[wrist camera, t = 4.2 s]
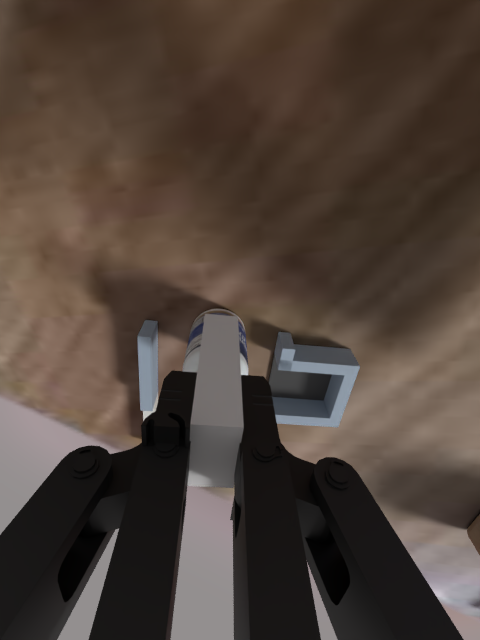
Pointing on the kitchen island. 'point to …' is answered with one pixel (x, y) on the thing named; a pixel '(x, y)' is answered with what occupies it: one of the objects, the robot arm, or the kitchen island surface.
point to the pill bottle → (196, 337)
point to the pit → (298, 384)
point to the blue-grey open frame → (287, 359)
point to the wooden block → (475, 533)
